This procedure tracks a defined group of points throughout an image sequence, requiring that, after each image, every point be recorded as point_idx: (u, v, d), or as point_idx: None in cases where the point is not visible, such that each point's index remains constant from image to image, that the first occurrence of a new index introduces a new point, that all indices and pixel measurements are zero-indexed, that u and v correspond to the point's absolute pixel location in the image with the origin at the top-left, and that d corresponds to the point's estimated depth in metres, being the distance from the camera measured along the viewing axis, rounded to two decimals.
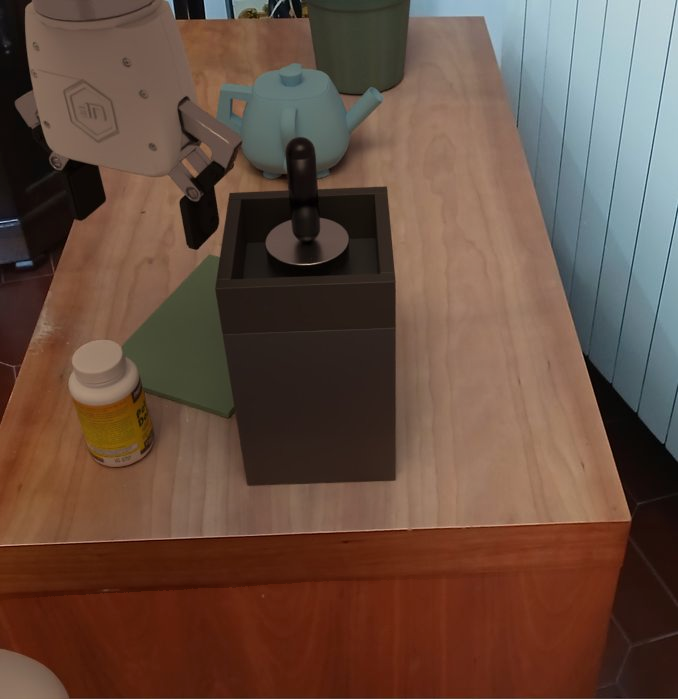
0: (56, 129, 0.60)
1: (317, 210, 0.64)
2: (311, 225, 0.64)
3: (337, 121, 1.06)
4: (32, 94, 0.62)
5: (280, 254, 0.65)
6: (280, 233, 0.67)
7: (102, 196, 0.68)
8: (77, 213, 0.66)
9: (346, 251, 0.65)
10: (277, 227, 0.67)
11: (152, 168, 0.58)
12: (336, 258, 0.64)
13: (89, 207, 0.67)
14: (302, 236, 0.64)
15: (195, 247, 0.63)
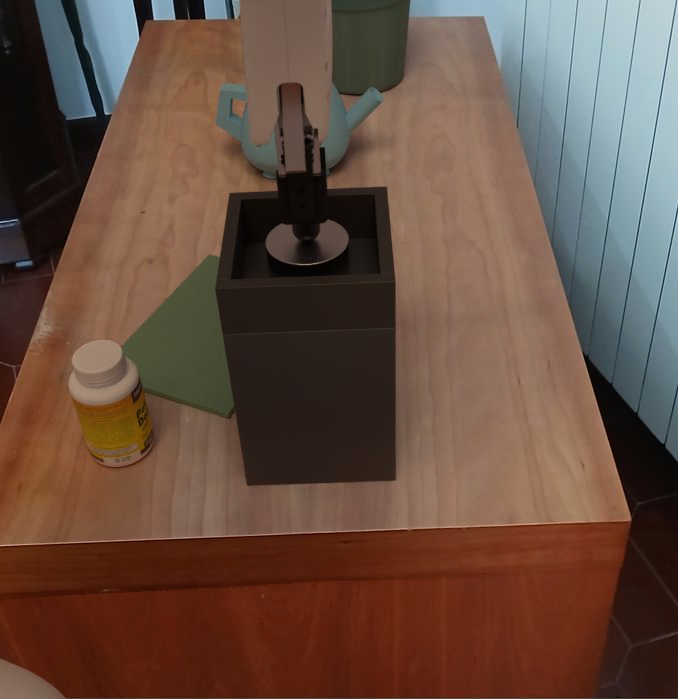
0: None
1: None
2: (311, 225, 0.64)
3: (337, 121, 1.06)
4: None
5: (280, 254, 0.65)
6: (280, 233, 0.67)
7: None
8: None
9: (346, 251, 0.65)
10: (277, 227, 0.67)
11: None
12: (336, 258, 0.64)
13: None
14: (302, 236, 0.64)
15: (282, 220, 0.63)
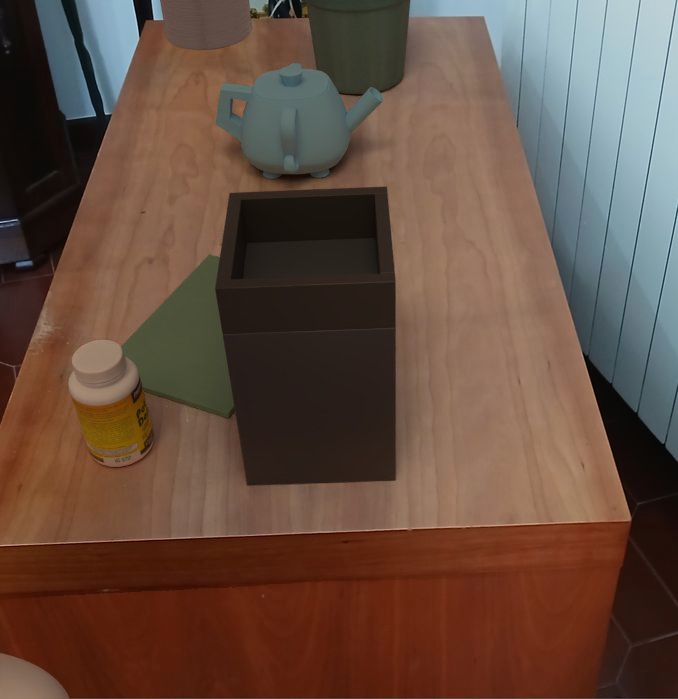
0: None
1: None
2: None
3: (337, 121, 1.06)
4: None
5: None
6: None
7: None
8: None
9: None
10: None
11: None
12: None
13: None
14: None
15: None
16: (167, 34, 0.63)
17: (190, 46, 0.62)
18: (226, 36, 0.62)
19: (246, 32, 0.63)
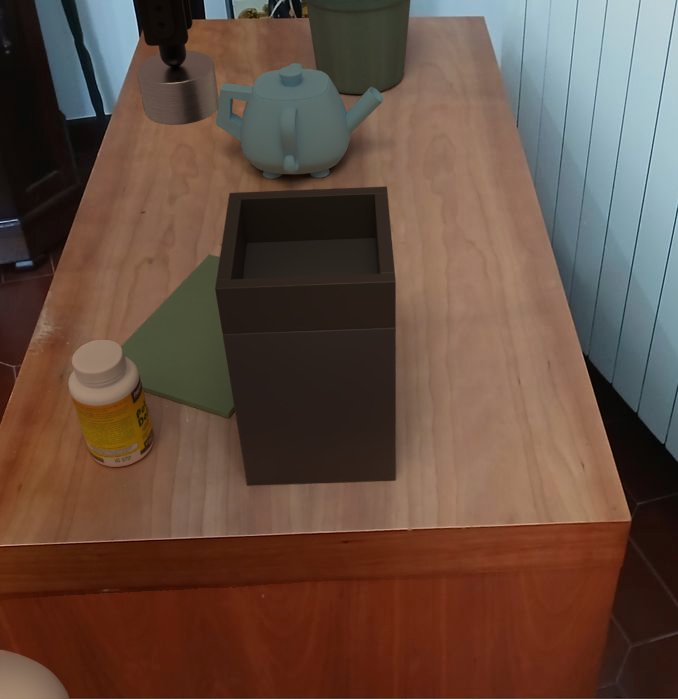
0: None
1: None
2: (175, 48, 0.70)
3: (337, 121, 1.06)
4: None
5: (148, 76, 0.70)
6: (151, 62, 0.72)
7: None
8: None
9: (210, 75, 0.71)
10: (150, 57, 0.73)
11: None
12: (199, 79, 0.70)
13: None
14: (168, 60, 0.70)
15: (146, 41, 0.69)
16: (145, 110, 0.73)
17: (165, 121, 0.72)
18: (196, 113, 0.72)
19: (213, 108, 0.73)
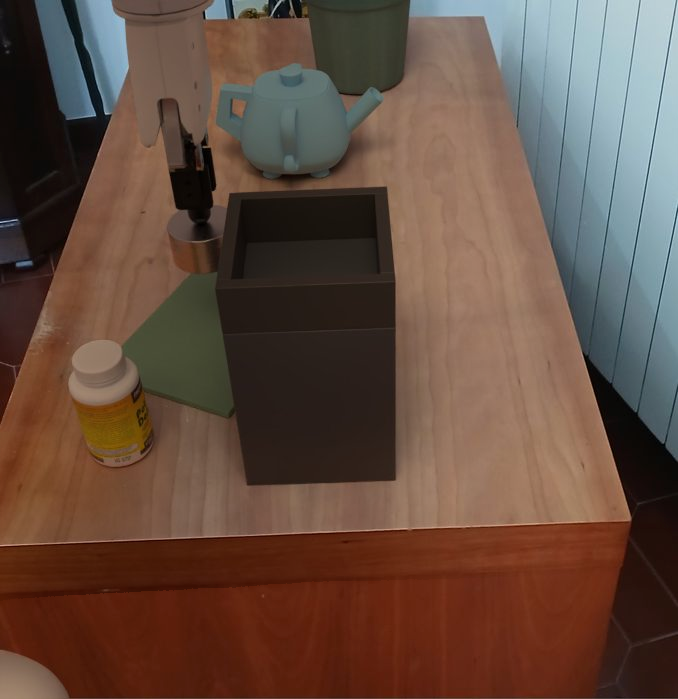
0: None
1: None
2: (202, 210, 0.79)
3: (337, 121, 1.06)
4: None
5: (177, 233, 0.80)
6: (180, 217, 0.82)
7: None
8: None
9: None
10: (178, 212, 0.82)
11: None
12: (222, 237, 0.80)
13: None
14: (195, 219, 0.80)
15: (177, 207, 0.78)
16: (174, 259, 0.82)
17: (192, 271, 0.81)
18: None
19: None
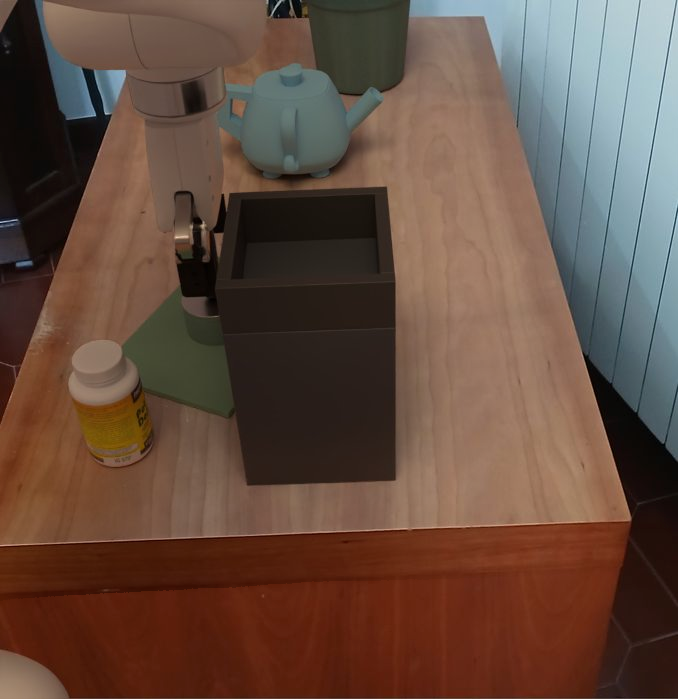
0: None
1: None
2: None
3: (337, 121, 1.06)
4: None
5: (191, 308, 0.85)
6: None
7: (222, 227, 0.87)
8: None
9: None
10: None
11: None
12: None
13: None
14: None
15: (183, 294, 0.80)
16: (188, 331, 0.87)
17: (204, 343, 0.86)
18: None
19: None
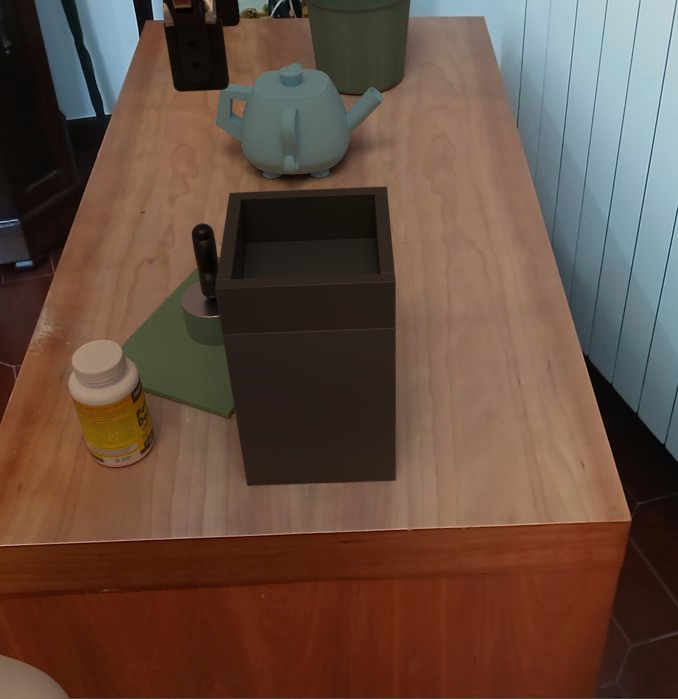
0: None
1: None
2: (214, 287, 0.85)
3: (337, 121, 1.06)
4: None
5: (191, 308, 0.85)
6: (193, 291, 0.87)
7: (231, 16, 0.60)
8: None
9: None
10: (192, 286, 0.88)
11: None
12: None
13: None
14: (208, 295, 0.85)
15: (176, 86, 0.53)
16: (188, 331, 0.87)
17: (204, 343, 0.86)
18: None
19: None
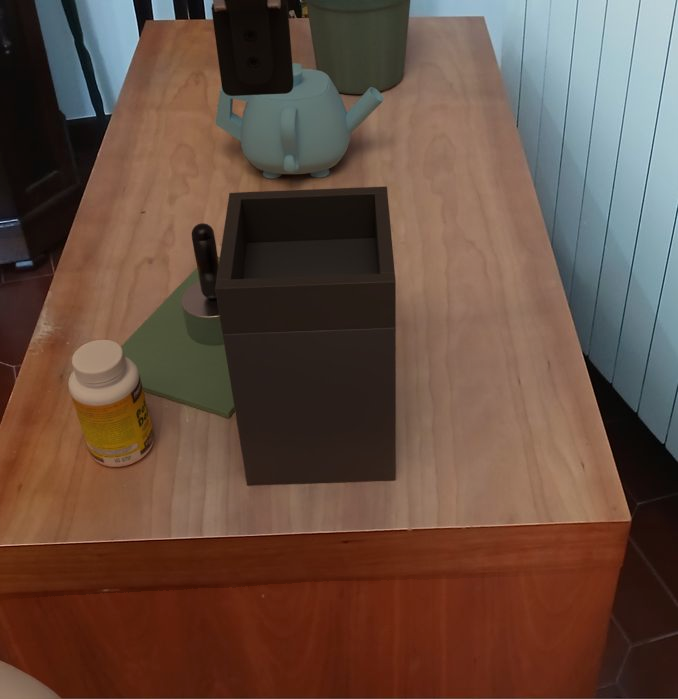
0: None
1: None
2: (214, 287, 0.85)
3: (337, 121, 1.06)
4: None
5: (191, 308, 0.85)
6: (193, 291, 0.87)
7: None
8: None
9: None
10: (192, 286, 0.88)
11: None
12: None
13: None
14: (208, 295, 0.85)
15: (225, 89, 0.41)
16: (188, 331, 0.87)
17: (204, 343, 0.86)
18: None
19: None
